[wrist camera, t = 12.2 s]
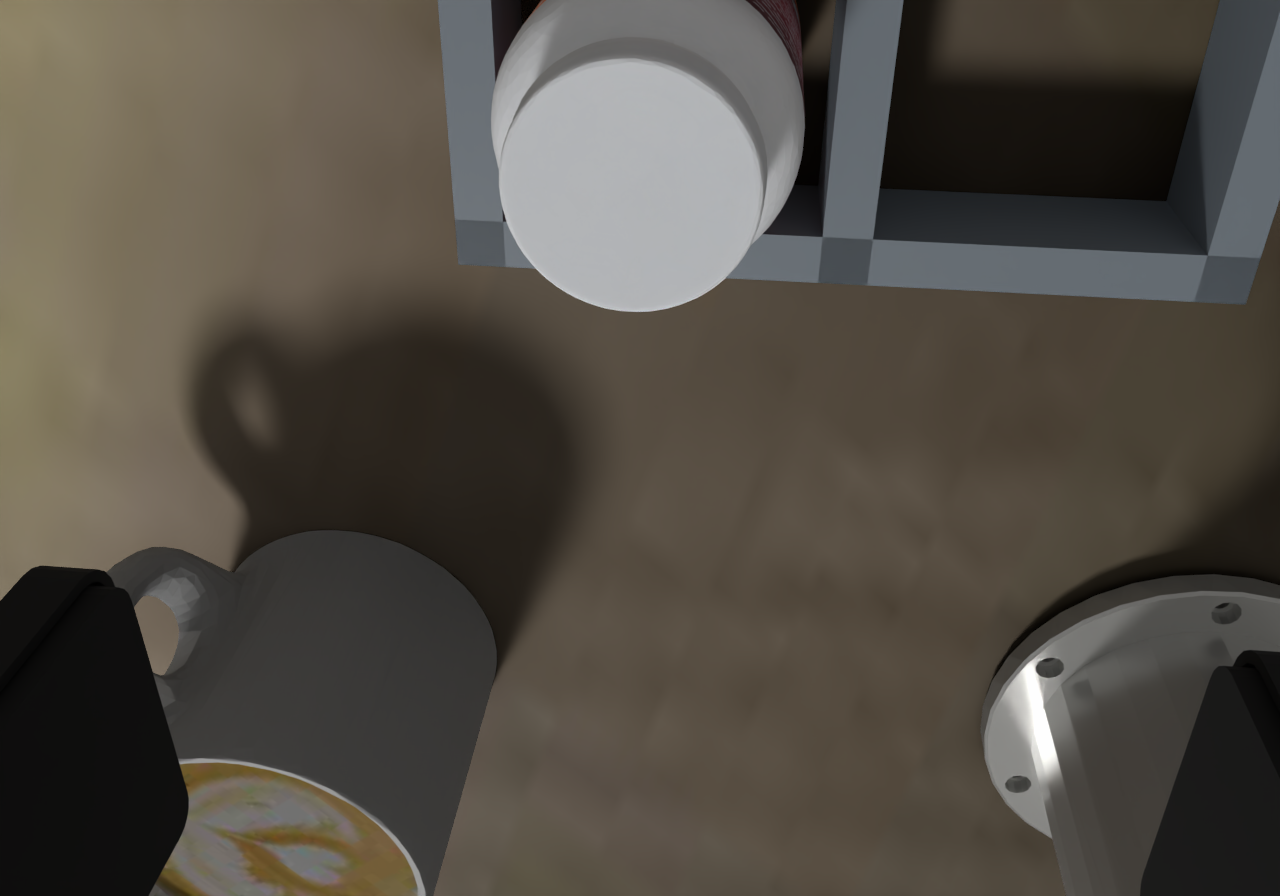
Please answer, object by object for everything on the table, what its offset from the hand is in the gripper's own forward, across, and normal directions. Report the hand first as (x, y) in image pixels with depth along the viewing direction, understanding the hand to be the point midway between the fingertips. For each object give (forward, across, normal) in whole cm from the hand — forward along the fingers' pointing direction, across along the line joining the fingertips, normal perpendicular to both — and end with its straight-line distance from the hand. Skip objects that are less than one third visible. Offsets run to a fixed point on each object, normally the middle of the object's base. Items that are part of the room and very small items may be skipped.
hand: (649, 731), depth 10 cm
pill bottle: (+23, +2, -1) cm, 23 cm away
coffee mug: (+23, +14, +19) cm, 33 cm away
